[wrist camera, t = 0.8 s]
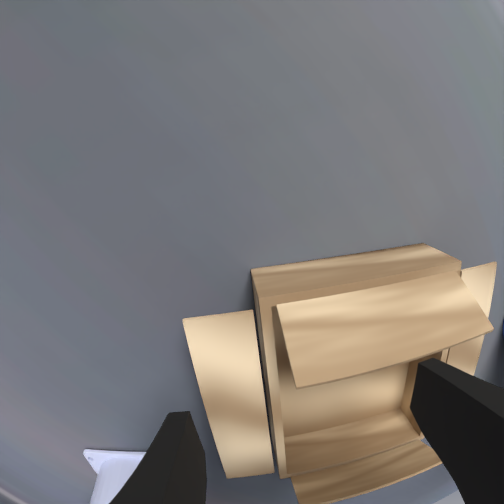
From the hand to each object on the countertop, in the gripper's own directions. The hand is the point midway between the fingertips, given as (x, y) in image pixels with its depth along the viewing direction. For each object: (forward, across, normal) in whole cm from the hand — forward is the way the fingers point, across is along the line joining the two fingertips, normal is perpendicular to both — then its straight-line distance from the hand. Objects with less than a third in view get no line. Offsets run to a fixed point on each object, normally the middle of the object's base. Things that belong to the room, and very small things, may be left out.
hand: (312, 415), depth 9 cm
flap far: (+6, -4, +12) cm, 14 cm away
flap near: (+6, -5, -1) cm, 8 cm away
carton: (+10, -5, +6) cm, 12 cm away
